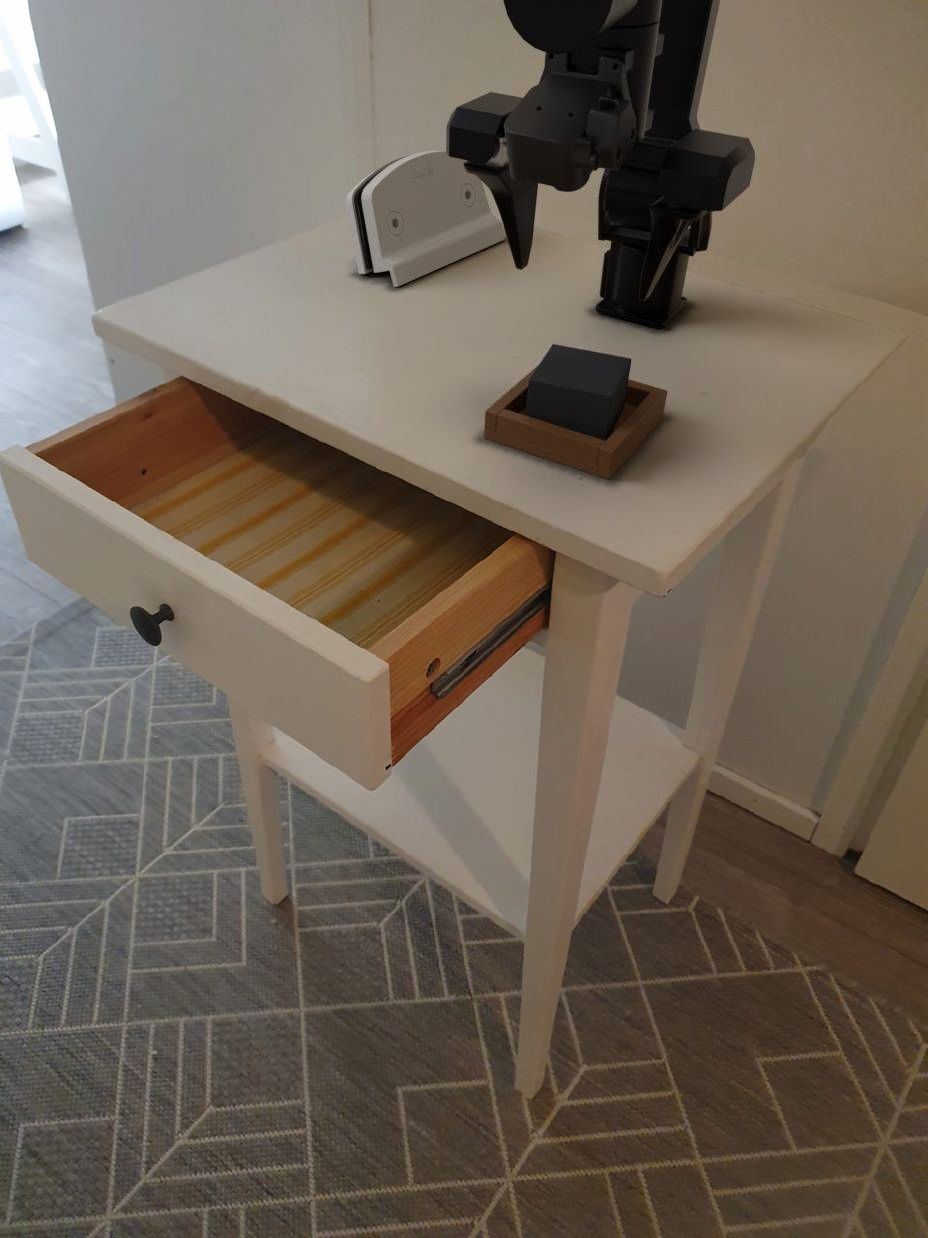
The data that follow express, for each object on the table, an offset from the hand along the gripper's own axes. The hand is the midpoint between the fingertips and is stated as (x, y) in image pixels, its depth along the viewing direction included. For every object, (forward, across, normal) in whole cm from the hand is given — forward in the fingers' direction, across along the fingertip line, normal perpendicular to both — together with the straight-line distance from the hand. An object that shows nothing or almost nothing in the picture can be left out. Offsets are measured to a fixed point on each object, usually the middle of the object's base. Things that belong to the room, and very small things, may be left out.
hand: (581, 282), depth 66 cm
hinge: (+11, -26, +21) cm, 35 cm away
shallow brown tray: (+11, +1, -1) cm, 11 cm away
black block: (+10, +1, -1) cm, 10 cm away
